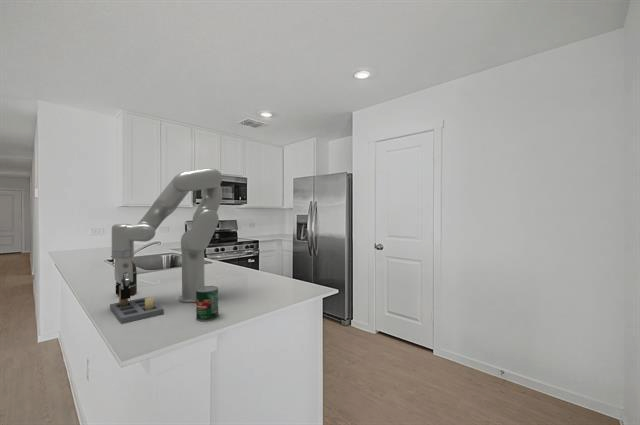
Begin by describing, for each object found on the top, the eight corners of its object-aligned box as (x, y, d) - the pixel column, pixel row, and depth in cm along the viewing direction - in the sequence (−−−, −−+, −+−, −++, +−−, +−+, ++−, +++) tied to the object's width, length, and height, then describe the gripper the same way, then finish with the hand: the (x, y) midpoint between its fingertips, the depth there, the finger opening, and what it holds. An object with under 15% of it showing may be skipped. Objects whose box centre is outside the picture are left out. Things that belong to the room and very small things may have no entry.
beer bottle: (140, 293, 145) (140, 244, 144) (125, 298, 137) (125, 246, 137) (128, 292, 147) (128, 243, 147) (113, 296, 140) (112, 245, 139)
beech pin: (128, 309, 121) (128, 285, 121) (120, 311, 119) (119, 286, 119) (127, 308, 123) (126, 284, 123) (118, 309, 121) (118, 285, 121)
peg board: (163, 314, 116) (163, 298, 116) (121, 323, 106) (121, 307, 106) (148, 301, 132) (148, 288, 132) (110, 309, 122) (109, 294, 122)
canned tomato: (220, 313, 117) (220, 285, 117) (216, 320, 109) (216, 290, 109) (199, 314, 116) (199, 286, 116) (193, 321, 108) (193, 291, 108)
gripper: (138, 255, 117) (138, 299, 118) (128, 251, 130) (128, 290, 130) (116, 257, 112) (116, 303, 112) (107, 252, 125) (107, 293, 125)
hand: (122, 296), depth 121 cm, fingers open, 9 cm apart
